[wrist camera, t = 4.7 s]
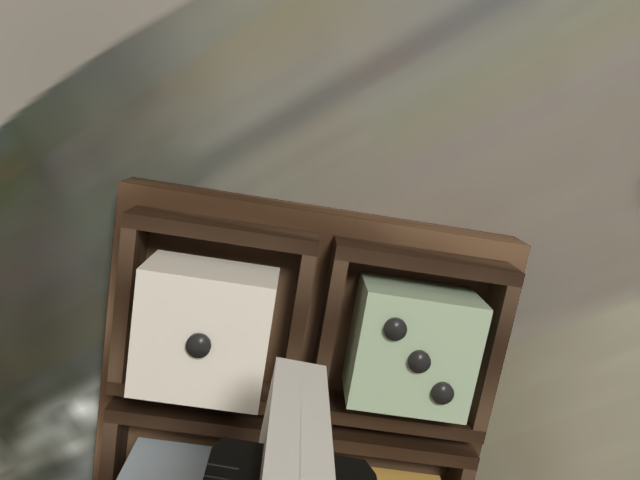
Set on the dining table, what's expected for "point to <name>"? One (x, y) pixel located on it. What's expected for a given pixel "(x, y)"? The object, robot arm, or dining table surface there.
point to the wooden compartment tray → (303, 315)
